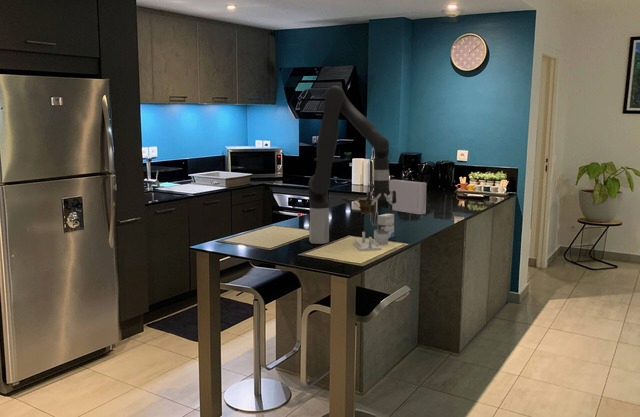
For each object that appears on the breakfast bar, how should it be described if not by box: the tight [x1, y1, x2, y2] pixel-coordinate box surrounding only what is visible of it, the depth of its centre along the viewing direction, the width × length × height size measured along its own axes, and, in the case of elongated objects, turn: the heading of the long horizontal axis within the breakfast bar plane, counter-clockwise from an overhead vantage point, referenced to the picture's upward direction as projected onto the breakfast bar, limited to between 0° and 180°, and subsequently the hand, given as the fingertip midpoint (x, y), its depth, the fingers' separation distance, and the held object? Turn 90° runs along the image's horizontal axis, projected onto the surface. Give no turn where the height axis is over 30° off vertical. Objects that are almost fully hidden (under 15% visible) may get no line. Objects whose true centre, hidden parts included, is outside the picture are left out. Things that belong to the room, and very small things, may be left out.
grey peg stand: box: [352, 231, 382, 252], centre depth 267 cm, size 10×14×6 cm
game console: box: [388, 179, 427, 215], centre depth 371 cm, size 6×27×20 cm, turn 39°
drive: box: [373, 228, 389, 246], centre depth 277 cm, size 4×9×6 cm, turn 10°
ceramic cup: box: [353, 197, 374, 216], centre depth 362 cm, size 13×10×10 cm
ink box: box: [377, 213, 395, 239], centre depth 289 cm, size 8×5×12 cm, turn 141°
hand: (381, 212), depth 275 cm, fingers open, 8 cm apart
